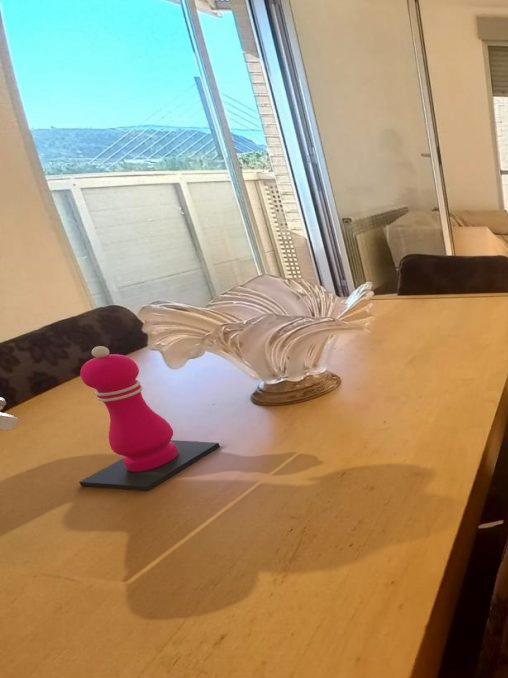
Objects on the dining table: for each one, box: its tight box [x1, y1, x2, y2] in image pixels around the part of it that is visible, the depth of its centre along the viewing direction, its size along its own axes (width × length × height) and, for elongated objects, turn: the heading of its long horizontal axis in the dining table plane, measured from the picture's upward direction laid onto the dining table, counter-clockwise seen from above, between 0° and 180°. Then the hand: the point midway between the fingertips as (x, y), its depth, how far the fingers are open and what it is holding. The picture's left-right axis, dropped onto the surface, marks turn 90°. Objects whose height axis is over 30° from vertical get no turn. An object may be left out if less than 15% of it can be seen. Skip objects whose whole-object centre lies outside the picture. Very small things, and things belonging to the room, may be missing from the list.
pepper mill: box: [79, 345, 178, 472], centre depth 73 cm, size 7×7×20 cm
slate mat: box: [78, 439, 221, 492], centre depth 77 cm, size 12×12×1 cm
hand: (9, 414), depth 64 cm, fingers open, 8 cm apart
